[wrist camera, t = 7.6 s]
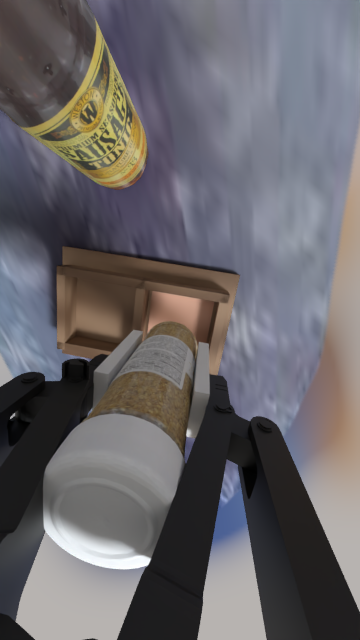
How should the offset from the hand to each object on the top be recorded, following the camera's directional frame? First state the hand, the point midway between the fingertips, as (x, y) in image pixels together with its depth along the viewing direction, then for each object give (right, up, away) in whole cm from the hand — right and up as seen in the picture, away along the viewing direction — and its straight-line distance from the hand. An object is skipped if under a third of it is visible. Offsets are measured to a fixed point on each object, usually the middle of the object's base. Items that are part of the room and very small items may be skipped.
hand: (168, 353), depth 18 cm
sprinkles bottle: (0, +1, +2) cm, 2 cm away
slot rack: (-3, +3, +8) cm, 9 cm away
